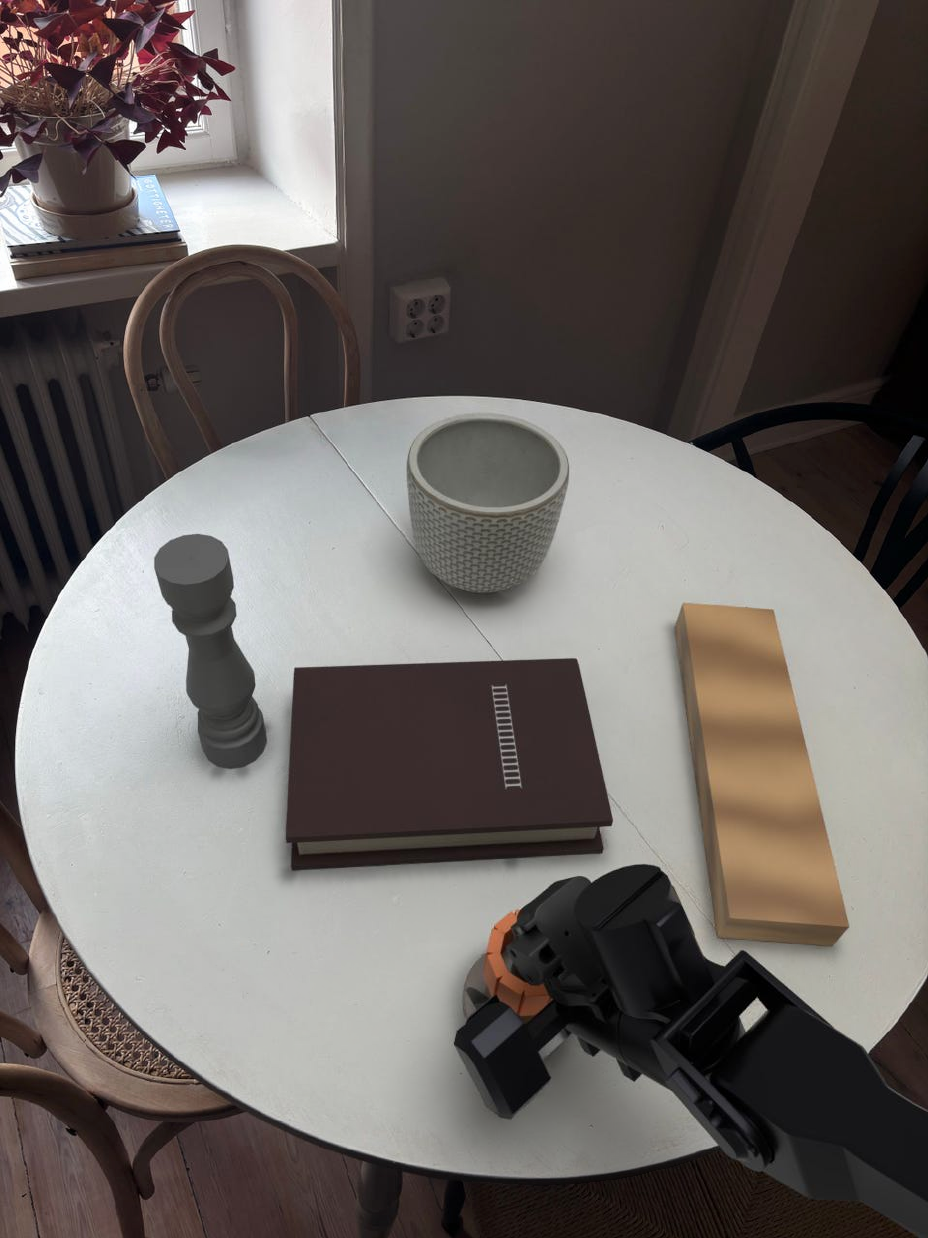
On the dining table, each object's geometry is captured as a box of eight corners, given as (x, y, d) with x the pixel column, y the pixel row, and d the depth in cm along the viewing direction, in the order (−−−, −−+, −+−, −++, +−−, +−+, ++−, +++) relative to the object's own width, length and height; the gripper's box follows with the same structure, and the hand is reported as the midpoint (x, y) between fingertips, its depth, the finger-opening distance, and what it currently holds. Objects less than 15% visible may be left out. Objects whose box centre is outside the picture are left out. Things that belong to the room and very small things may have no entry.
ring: (586, 978, 68) (595, 957, 65) (522, 1035, 65) (528, 1016, 62) (529, 914, 72) (535, 892, 69) (466, 966, 69) (469, 945, 66)
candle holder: (280, 742, 89) (248, 559, 70) (228, 780, 86) (180, 599, 67) (241, 706, 92) (201, 520, 73) (189, 741, 88) (133, 557, 70)
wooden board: (832, 946, 78) (849, 927, 75) (717, 937, 78) (729, 918, 75) (762, 633, 102) (773, 609, 99) (674, 626, 102) (682, 602, 99)
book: (567, 685, 96) (575, 649, 91) (601, 853, 83) (613, 820, 78) (299, 694, 93) (294, 658, 88) (291, 870, 80) (285, 837, 76)
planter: (526, 640, 99) (543, 532, 88) (382, 595, 103) (379, 486, 91) (569, 542, 110) (589, 434, 99) (437, 504, 114) (442, 396, 102)
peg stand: (596, 1011, 73) (621, 958, 65) (514, 1087, 69) (529, 1041, 61) (521, 927, 78) (536, 867, 69) (440, 994, 73) (445, 939, 65)
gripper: (704, 826, 58) (561, 797, 71) (483, 1016, 49) (369, 942, 63) (766, 969, 60) (615, 914, 73) (564, 1176, 51) (436, 1070, 65)
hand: (515, 954), depth 69 cm, fingers open, 9 cm apart
